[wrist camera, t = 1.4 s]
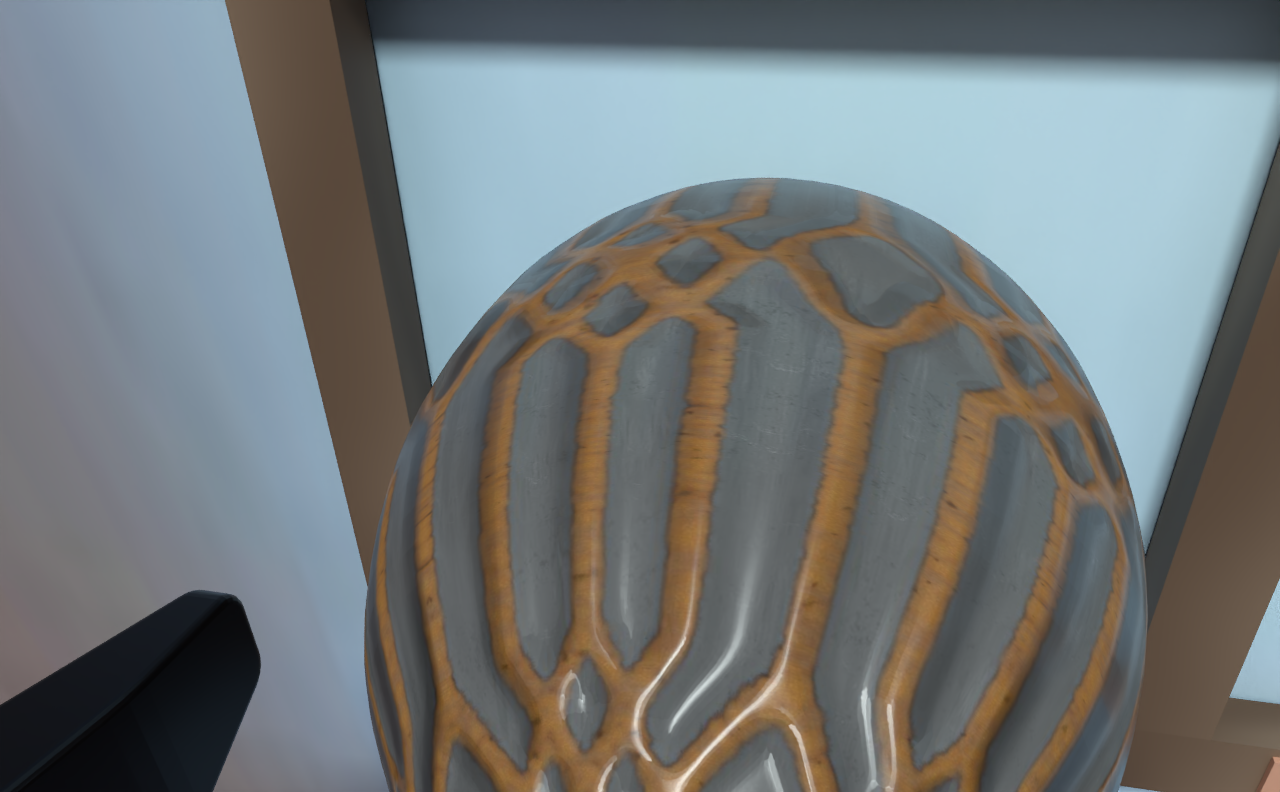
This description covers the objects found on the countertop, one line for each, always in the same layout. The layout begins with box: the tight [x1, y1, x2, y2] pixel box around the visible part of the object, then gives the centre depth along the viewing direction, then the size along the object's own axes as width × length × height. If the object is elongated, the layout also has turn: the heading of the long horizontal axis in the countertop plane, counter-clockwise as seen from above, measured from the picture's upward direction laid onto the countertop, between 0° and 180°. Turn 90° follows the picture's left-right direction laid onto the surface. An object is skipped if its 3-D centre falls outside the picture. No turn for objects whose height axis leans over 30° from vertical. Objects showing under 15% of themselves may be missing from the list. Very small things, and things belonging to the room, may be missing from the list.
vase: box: [364, 178, 1148, 792], centre depth 9 cm, size 7×7×9 cm
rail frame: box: [225, 0, 1280, 792], centre depth 12 cm, size 23×12×1 cm, turn 91°
